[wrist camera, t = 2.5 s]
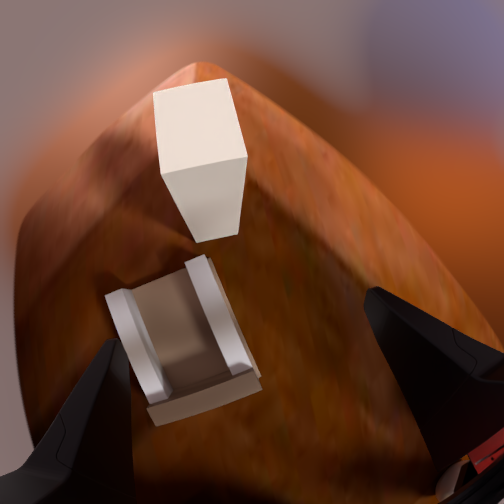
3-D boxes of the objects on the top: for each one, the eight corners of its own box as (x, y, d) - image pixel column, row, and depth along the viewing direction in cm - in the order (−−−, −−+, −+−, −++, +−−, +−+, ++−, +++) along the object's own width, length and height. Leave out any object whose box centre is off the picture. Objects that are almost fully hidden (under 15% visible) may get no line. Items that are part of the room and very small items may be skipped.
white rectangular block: (237, 234, 24) (247, 156, 11) (196, 242, 23) (160, 174, 11) (226, 184, 24) (226, 78, 12) (187, 192, 24) (153, 92, 11)
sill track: (260, 374, 22) (266, 387, 18) (163, 409, 21) (152, 427, 17) (211, 259, 23) (207, 250, 19) (116, 297, 22) (95, 296, 18)
